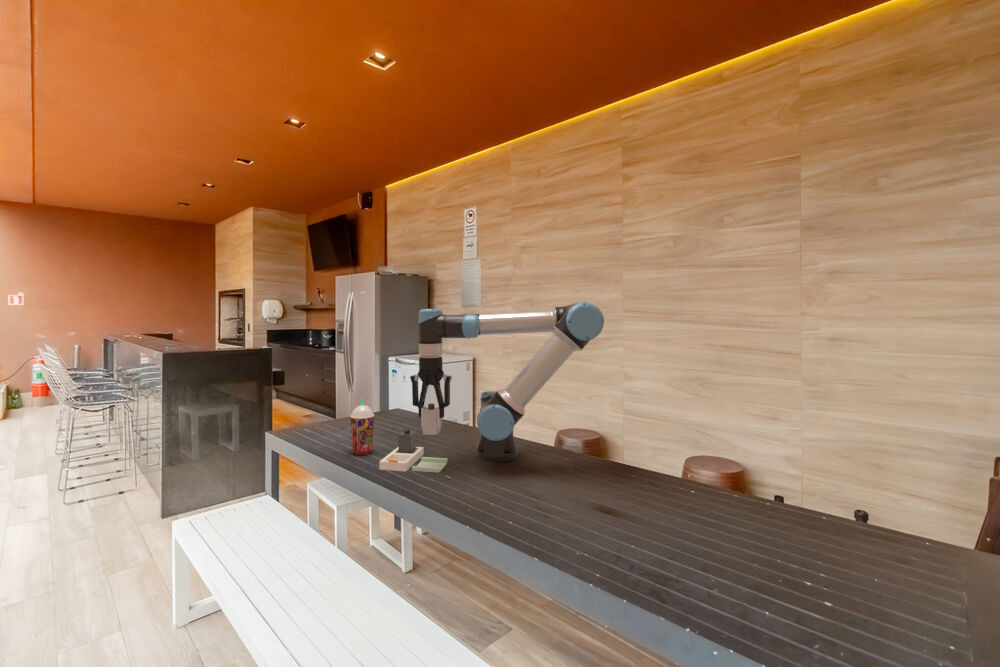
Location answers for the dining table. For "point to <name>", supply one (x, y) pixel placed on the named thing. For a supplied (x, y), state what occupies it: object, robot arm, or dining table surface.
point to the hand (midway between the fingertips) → (431, 427)
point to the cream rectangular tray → (403, 453)
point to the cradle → (430, 464)
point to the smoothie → (362, 429)
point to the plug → (430, 420)
